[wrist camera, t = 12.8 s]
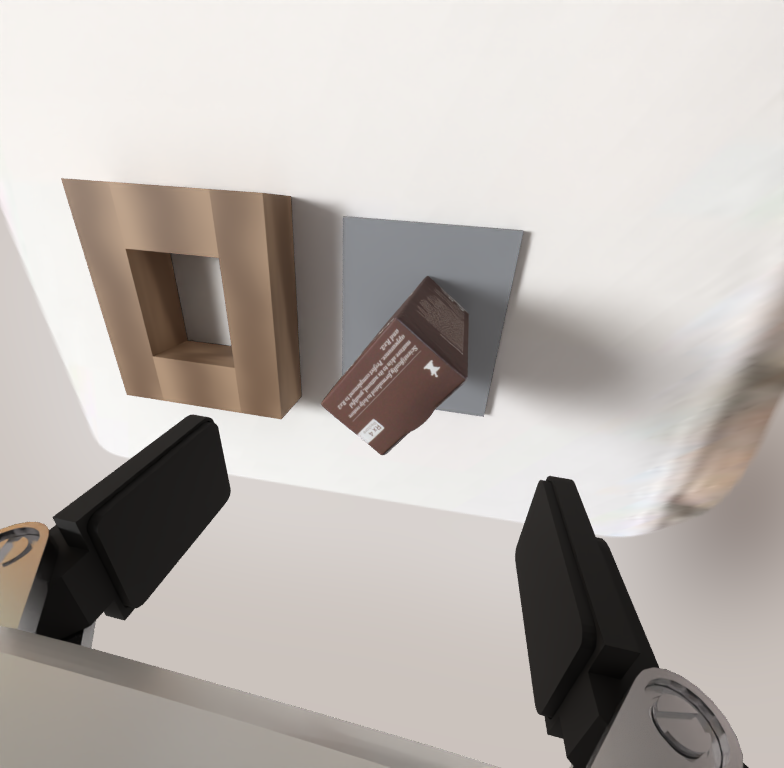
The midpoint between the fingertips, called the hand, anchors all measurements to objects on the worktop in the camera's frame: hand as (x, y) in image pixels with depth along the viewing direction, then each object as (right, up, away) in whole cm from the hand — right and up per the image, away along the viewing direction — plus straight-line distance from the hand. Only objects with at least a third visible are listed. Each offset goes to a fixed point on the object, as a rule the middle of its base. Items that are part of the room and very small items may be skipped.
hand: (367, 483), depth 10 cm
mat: (+3, +8, +17) cm, 19 cm away
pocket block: (-14, +10, +19) cm, 25 cm away
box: (+3, +8, +16) cm, 18 cm away
